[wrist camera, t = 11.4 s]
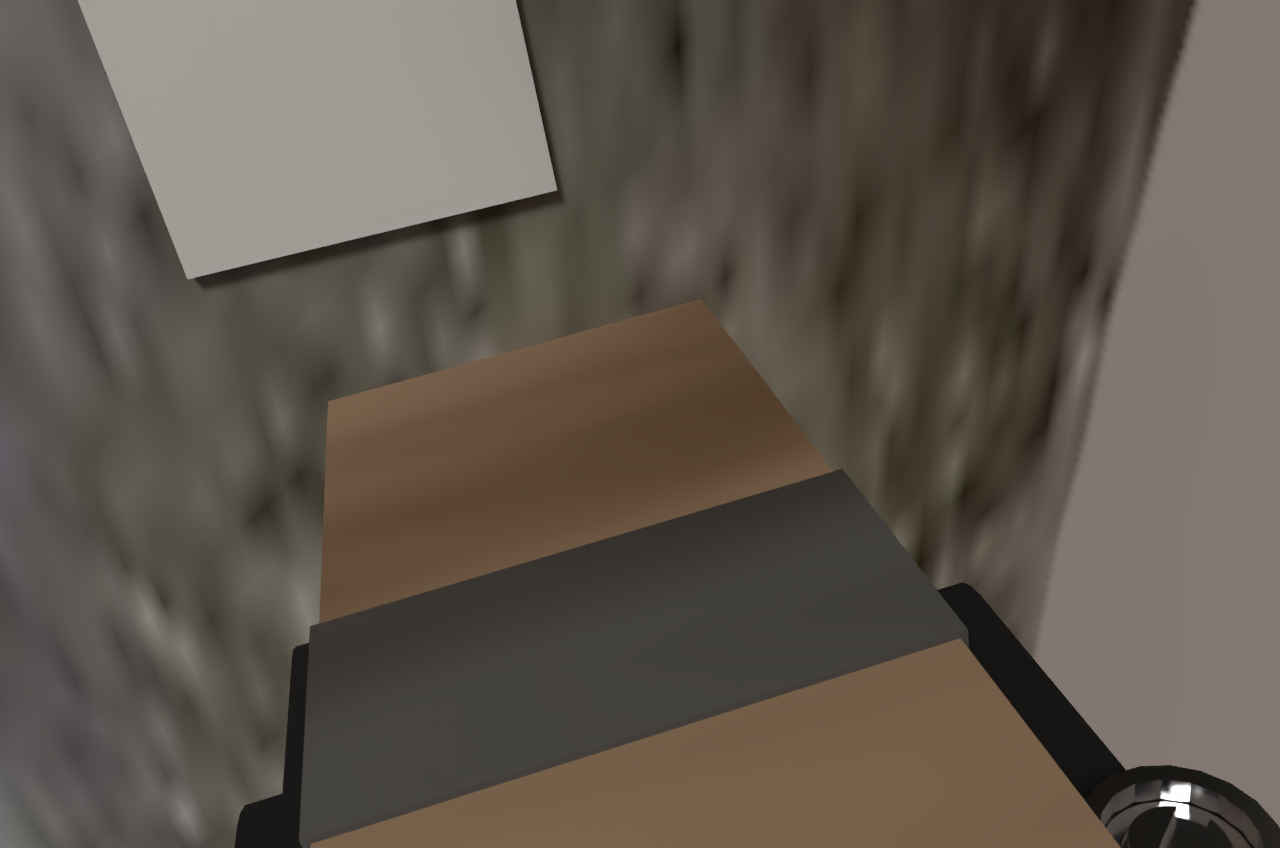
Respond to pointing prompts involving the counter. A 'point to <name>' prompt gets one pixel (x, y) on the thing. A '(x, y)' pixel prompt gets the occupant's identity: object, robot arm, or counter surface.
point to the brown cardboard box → (638, 625)
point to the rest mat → (320, 117)
